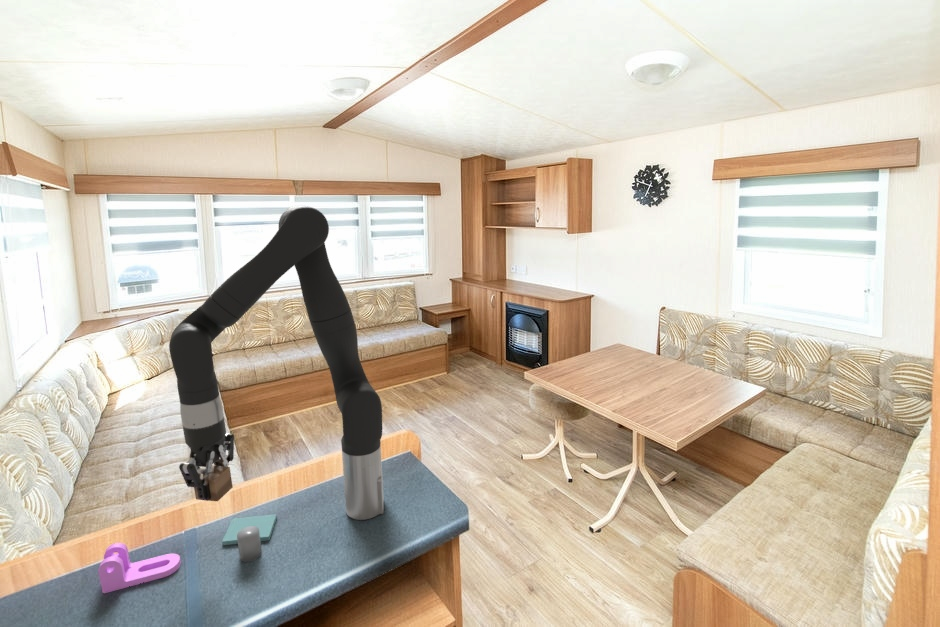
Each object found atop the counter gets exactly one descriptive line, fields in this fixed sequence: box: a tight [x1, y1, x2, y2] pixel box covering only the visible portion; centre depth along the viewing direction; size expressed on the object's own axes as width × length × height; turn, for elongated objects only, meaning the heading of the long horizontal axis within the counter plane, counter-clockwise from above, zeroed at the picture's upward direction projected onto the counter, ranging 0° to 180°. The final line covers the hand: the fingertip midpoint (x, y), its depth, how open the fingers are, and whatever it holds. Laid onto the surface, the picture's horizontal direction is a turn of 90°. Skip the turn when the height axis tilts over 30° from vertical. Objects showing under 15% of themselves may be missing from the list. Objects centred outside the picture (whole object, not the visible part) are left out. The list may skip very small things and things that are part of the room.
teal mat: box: [221, 513, 278, 546], centre depth 112 cm, size 10×8×1 cm
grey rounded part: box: [237, 526, 263, 563], centre depth 105 cm, size 4×4×6 cm
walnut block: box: [193, 464, 233, 502], centre depth 102 cm, size 5×5×5 cm
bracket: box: [98, 542, 182, 594], centre depth 99 cm, size 13×6×7 cm, turn 114°
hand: (214, 491), depth 103 cm, fingers closed on walnut block, 5 cm apart
